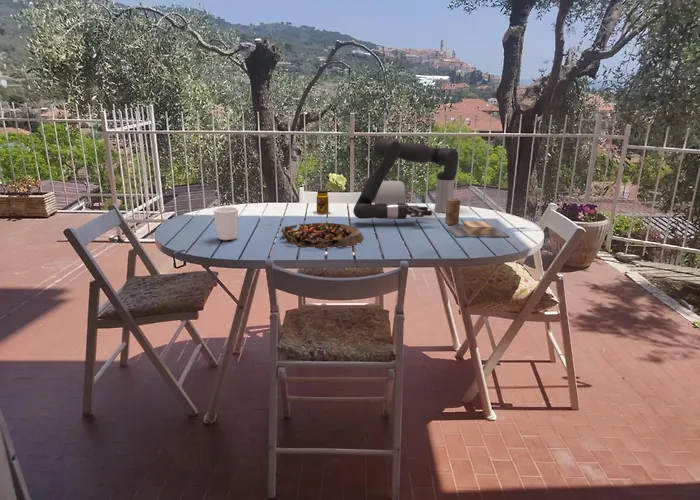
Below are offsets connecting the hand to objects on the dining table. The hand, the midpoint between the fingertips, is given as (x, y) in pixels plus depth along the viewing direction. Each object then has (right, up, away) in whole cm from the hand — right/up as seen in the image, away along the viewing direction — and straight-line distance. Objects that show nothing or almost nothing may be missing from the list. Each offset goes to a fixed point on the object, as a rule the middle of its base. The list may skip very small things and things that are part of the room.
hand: (429, 211), depth 232 cm
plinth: (+19, -11, -11) cm, 25 cm away
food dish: (-49, -14, -24) cm, 57 cm away
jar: (-20, +4, +36) cm, 41 cm away
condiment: (-52, +1, +23) cm, 57 cm away
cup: (-89, -14, -28) cm, 94 cm away
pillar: (+11, -6, +3) cm, 13 cm away
